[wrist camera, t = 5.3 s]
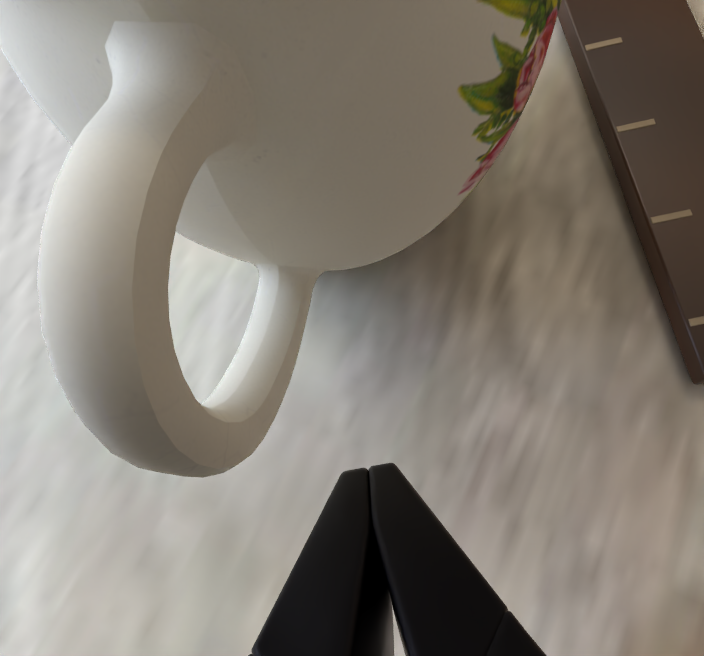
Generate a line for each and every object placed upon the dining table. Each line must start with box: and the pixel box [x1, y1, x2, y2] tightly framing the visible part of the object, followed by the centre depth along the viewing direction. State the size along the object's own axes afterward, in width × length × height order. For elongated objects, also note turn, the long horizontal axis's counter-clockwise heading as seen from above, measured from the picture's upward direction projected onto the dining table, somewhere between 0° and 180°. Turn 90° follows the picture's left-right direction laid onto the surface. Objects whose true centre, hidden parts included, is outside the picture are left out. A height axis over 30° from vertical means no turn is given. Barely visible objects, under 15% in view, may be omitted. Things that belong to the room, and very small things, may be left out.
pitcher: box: [0, 0, 562, 477], centre depth 12 cm, size 11×18×14 cm, turn 172°
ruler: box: [558, 0, 704, 384], centre depth 17 cm, size 15×4×1 cm, turn 10°
